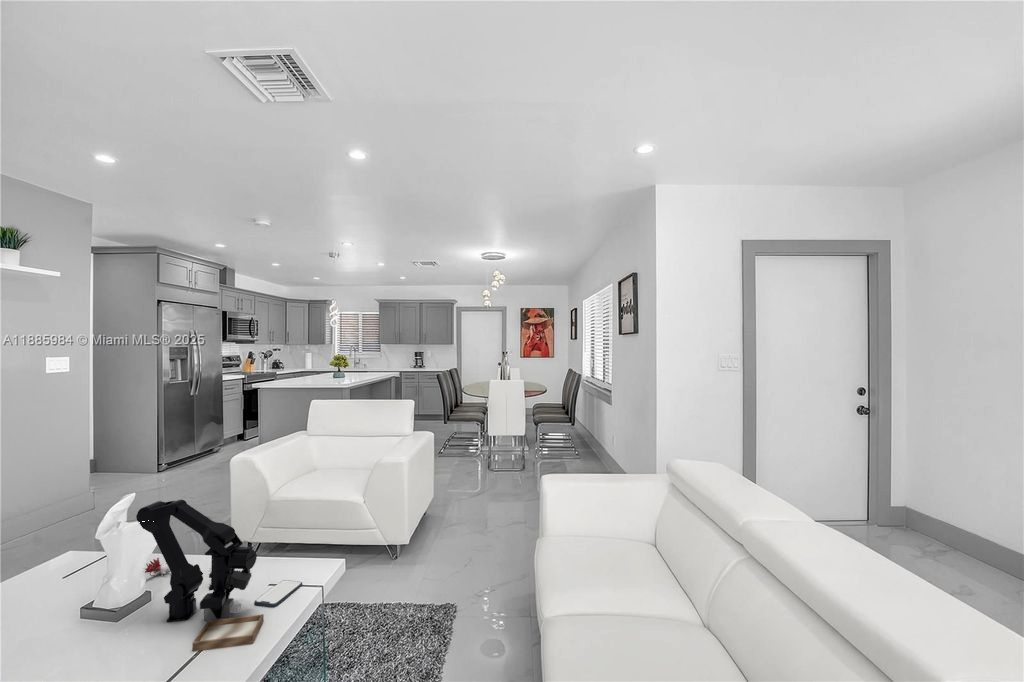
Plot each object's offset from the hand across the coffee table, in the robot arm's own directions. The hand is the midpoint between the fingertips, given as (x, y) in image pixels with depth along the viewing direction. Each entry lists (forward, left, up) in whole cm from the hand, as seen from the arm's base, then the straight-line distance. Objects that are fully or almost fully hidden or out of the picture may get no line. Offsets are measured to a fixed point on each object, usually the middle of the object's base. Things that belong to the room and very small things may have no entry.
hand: (221, 614), depth 154 cm
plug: (0, 0, -1) cm, 1 cm away
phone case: (+15, +11, -2) cm, 19 cm away
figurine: (-33, +37, -1) cm, 50 cm away
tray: (+6, -11, -1) cm, 13 cm away
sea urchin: (-9, +23, -1) cm, 25 cm away
